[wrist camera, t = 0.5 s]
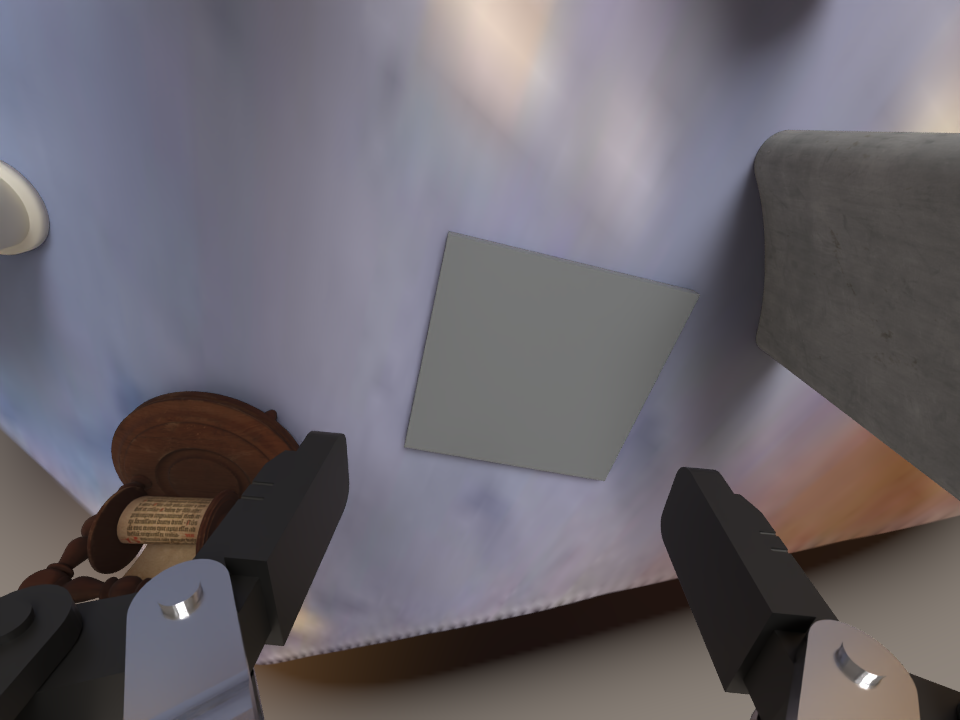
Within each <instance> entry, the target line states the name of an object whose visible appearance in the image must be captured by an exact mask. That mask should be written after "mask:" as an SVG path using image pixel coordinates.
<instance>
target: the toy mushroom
mask: <svg viewBox="0 0 960 720" xmlns="http://www.w3.org/2000/svg"><path fill="white" fill-rule="evenodd" d="M49 224H50V223H49V216H48V212H47V209H46V207H45V204H44V202H43V200H42V198H41V197H40V195H39V194H38V192H37V191H36V189H35V188H34V187H33V185H32V184H31V183H30V182H29V181H28V180H27V179H26V178H25V177H24V176H23V175H22V174H21V173H19V172H18V171H17V170H16V169H14V168H13V167H11V166H10V165H8V164H7V163H5V162H3V161H2V160H0V254H2V255H15V254H20V253H23V252H26V251H30V250H33V249H35V248H37V247H39V246H40V245H41V244H42V243H43V242H44V241H45V240H46V238H47V236H48V232H49Z"/></svg>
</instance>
